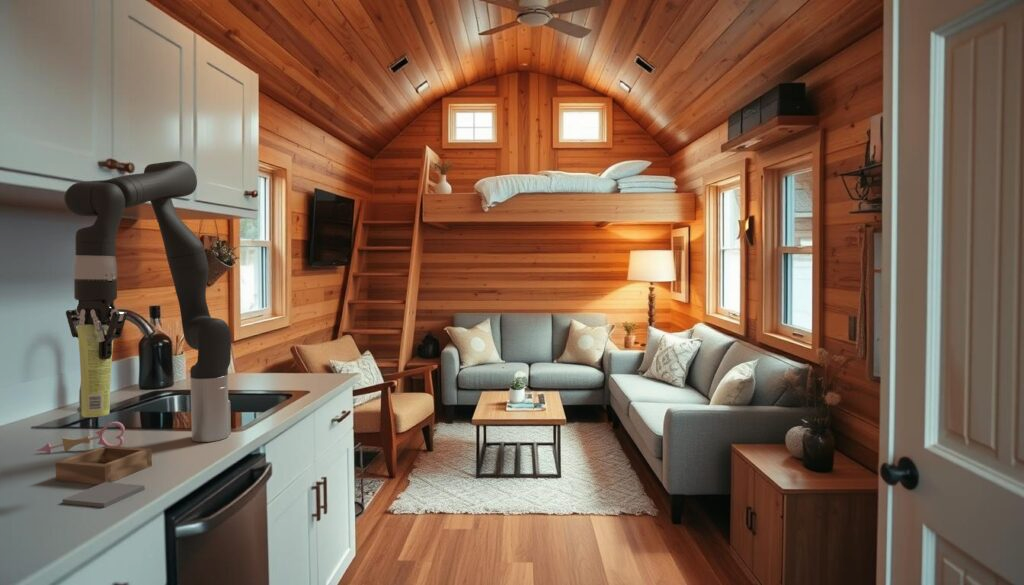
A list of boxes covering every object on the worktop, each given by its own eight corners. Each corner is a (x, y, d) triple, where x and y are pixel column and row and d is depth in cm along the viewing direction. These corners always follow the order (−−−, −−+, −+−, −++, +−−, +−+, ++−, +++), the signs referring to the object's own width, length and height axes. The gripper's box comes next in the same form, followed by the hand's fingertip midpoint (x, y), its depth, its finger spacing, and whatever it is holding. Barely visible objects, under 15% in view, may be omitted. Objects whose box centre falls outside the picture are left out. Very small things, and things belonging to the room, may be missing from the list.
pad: (105, 485, 133) (105, 482, 133) (144, 489, 131) (144, 485, 131) (62, 503, 123) (62, 499, 123) (104, 507, 121) (104, 503, 121)
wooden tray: (106, 461, 149) (105, 445, 149) (151, 465, 146) (151, 449, 146) (55, 480, 136) (55, 462, 136) (105, 484, 133) (104, 466, 133)
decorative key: (40, 463, 156) (128, 444, 162) (38, 465, 155) (127, 445, 161) (34, 438, 156) (122, 419, 162) (32, 439, 155) (121, 420, 161)
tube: (88, 412, 133) (89, 322, 132) (115, 412, 134) (115, 322, 133) (76, 418, 127) (76, 325, 127) (104, 418, 129) (104, 325, 128)
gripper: (52, 277, 128) (52, 359, 128) (107, 278, 125) (108, 362, 125) (85, 277, 135) (85, 354, 136) (138, 278, 132) (138, 357, 132)
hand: (96, 358), depth 130 cm, fingers closed on tube, 4 cm apart
